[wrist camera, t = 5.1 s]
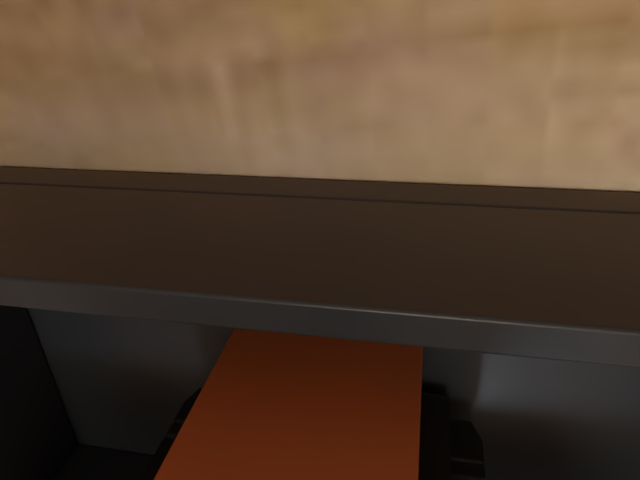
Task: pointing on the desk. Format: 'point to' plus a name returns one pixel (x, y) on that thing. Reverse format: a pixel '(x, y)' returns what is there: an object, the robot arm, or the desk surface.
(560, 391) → the bin
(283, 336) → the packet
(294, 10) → the desk surface
